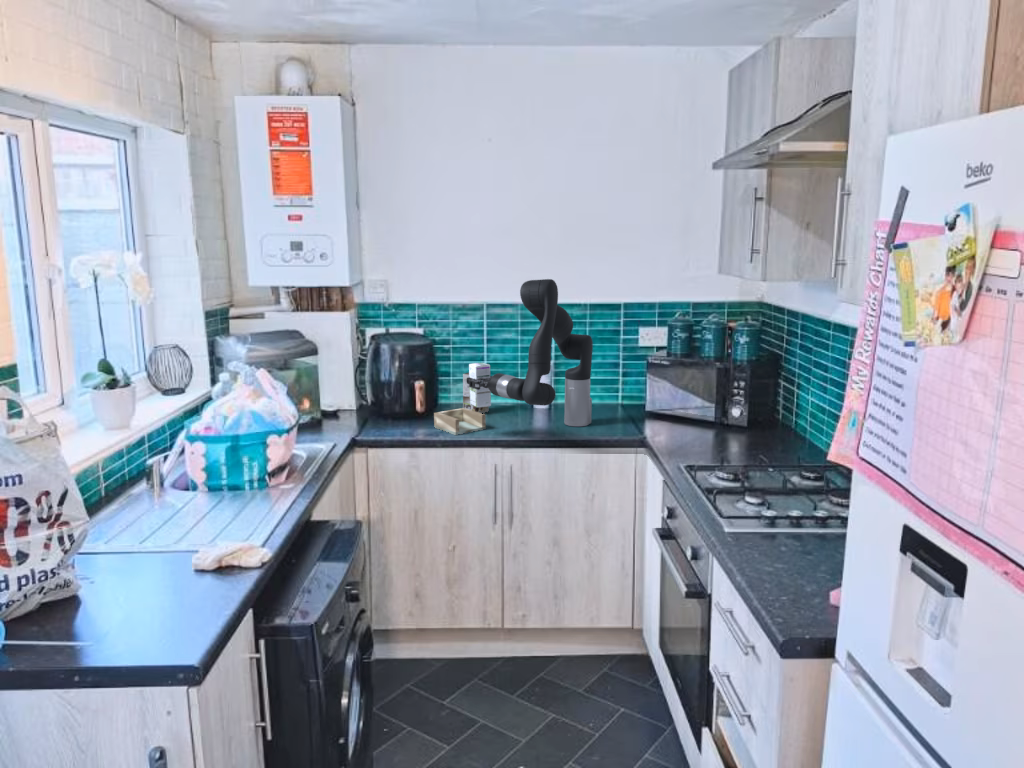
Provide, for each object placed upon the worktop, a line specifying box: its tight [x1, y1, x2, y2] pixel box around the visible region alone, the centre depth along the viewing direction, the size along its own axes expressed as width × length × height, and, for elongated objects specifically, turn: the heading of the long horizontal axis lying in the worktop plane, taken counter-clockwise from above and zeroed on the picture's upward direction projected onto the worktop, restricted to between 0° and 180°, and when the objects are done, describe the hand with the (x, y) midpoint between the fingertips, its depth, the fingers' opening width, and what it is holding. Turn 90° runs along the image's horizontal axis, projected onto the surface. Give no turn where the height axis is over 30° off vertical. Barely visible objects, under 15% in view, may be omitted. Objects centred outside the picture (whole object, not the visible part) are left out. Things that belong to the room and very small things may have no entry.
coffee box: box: [462, 372, 490, 414], centre depth 297 cm, size 9×6×16 cm
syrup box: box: [468, 362, 492, 407], centre depth 262 cm, size 6×6×14 cm
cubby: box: [433, 407, 487, 436], centre depth 275 cm, size 13×14×6 cm
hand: (475, 379), depth 264 cm, fingers closed on syrup box, 6 cm apart
